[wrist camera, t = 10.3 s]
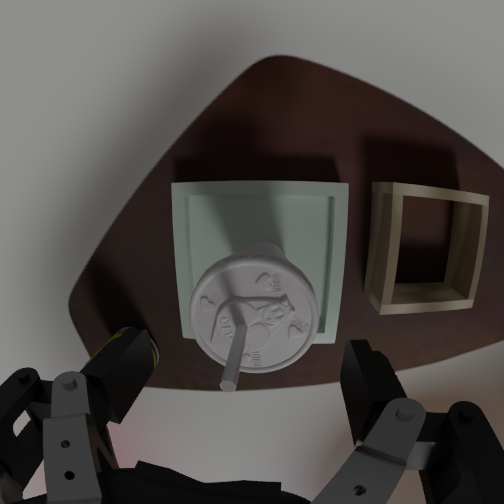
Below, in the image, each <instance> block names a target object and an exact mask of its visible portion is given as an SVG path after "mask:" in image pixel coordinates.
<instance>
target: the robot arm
mask: <svg viewBox="0 0 504 504" xmlns="http://www.w3.org/2000/svg"><path fill="white" fill-rule="evenodd" d="M153 370H154V357H153V352H152V347H151V342H150V337H149V333H148V331H147V330H146V329H139V328H132V327H130V328H128V329H127V330H126V331H125V332H124V333H123V334H122V335H121V336H120V337H117V338H115V339H113V340H111V341H109V342H108V343H107V344H106V345H105V346H104V347H103V348H102V350H100V351H99V352H98V353H97V355H95V356H94V357H93V358H92V359H91V360H90V361H89V362H88V363H87V364H86V366H85V367H84V368H83V369H82V370H81V371H80V372H74V371H70V372H65V373H62V374H60V375H59V376H57V377H56V378H55V380H54V381H46V380H41V379H40V377H39V375H38V372H37V371H36V370H35V369H33V368H22V369H19V370H17V371H16V372H14V373H13V374H12V375H11V376H10V377H9V378H8V379H7V380H6V381H5V382H4V383H3V384H2V385H1V386H0V504H386V503H387V501H388V499H389V498H390V496H391V494H392V493H393V491H394V489H395V487H396V486H397V484H398V482H399V480H400V478H401V476H402V474H403V472H404V470H405V469H407V470H418V471H419V474H420V478H421V482H422V486H423V490H424V495H425V499H426V504H504V450H503V448H502V446H501V444H500V442H499V440H498V439H497V437H496V435H495V433H494V431H493V429H492V427H491V426H490V424H489V422H488V420H487V419H486V417H485V415H484V413H483V412H482V410H481V409H480V408H479V407H478V406H477V405H476V404H474V403H472V402H468V401H460V402H457V403H454V404H453V405H452V406H451V407H450V409H449V411H448V413H431V412H426V411H425V409H424V407H423V406H422V405H421V404H420V403H419V402H417V401H415V400H413V399H409V398H407V396H406V394H405V392H404V390H403V388H402V386H401V383H400V382H399V380H398V378H397V376H396V375H395V372H394V370H393V368H392V366H391V364H390V362H389V360H388V358H387V357H386V356H384V355H383V354H382V353H381V352H379V351H372V349H371V347H370V345H369V343H368V341H367V340H366V339H361V340H348V341H347V343H346V347H345V353H344V358H343V363H342V368H341V374H340V384H341V389H342V393H343V397H344V401H345V405H346V410H347V415H348V419H349V423H350V428H351V433H352V438H353V442H354V447H357V448H356V449H355V450H354V451H353V453H352V454H351V455H350V457H349V458H348V459H347V461H346V462H345V463H344V465H343V466H342V467H341V468H340V470H339V471H338V472H337V473H336V475H335V476H334V477H333V478H332V479H331V481H330V482H329V483H328V484H327V485H326V486H325V488H324V489H323V490H322V491H321V492H320V493H319V494H318V496H317V497H316V498H315V499H314V500H313V501H312V502H310V501H309V500H307V499H305V498H303V497H300V496H298V495H295V494H292V493H289V492H285V491H281V482H263V481H247V480H241V481H230V482H215V483H203V482H200V481H197V480H195V479H192V478H190V477H188V476H185V475H183V474H181V473H179V472H176V471H174V470H172V469H170V468H165V467H161V466H157V465H153V464H150V463H146V462H143V461H138V462H137V464H136V466H135V468H121V469H120V468H119V466H118V463H117V461H116V457H115V453H114V450H113V446H112V442H111V438H110V435H109V430H108V428H107V426H106V424H107V423H108V422H109V421H112V422H114V423H118V424H120V423H121V422H122V420H123V418H124V417H125V415H126V414H127V412H128V411H129V409H130V408H131V406H132V404H133V403H134V401H135V400H136V398H137V397H138V395H139V393H140V392H141V390H142V389H143V387H144V386H145V384H146V382H147V381H148V379H149V378H150V376H151V375H152V373H153ZM24 410H26V412H27V414H28V415H29V417H30V419H31V420H30V421H29V422H28V423H27V425H26V426H25V427H24V429H23V430H22V431H21V432H20V433H19V435H18V436H17V437H16V435H15V434H14V432H13V424H14V422H15V421H16V420H17V418H18V417H19V416H20V415H21V414H22V412H23V411H24ZM43 459H44V469H45V470H44V471H45V481H46V489H47V493H46V494H43V495H39V496H36V497H32V498H29V499H25V500H24V499H23V498H22V497H23V491H24V489H25V487H26V486H27V484H28V483H29V481H30V479H31V478H32V476H33V475H34V473H35V471H36V470H37V468H38V467H39V465H40V464H41V462H42V460H43Z"/></svg>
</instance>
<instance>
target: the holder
mask: <svg viewBox="0 0 504 504" xmlns="http://www.w3.org/2000/svg"><path fill="white" fill-rule="evenodd" d="M403 195H408V196H418V197H427V198H436V199H444V200H452V201H454V206H453V220H452V230H451V239H450V247H449V254H448V261H447V267H446V273H445V278H444V282H436V283H394V282H395V276H396V269H397V261H398V253H399V244H400V234H401V222H402V206H403ZM488 207H489V196H486V195H481V194H475V193H469V192H463V191H457V190H451V189H444V188H437V187H429V186H421V185H413V184H404V183H395V182H372V204H371V223H370V237H369V249H368V259H367V269H366V277H365V285H364V294H365V295H366V296H367V298H368V299H369V301H370V302H371V303H372V305H373V306H374V308H375V309H376V310H377V312H378V313H379V315H383V314H402V313H418V312H432V311H444V310H455V309H465V308H472V305H473V301H474V297H475V293H476V289H477V284H478V280H479V275H480V270H481V264H482V258H483V252H484V246H485V238H486V230H487V220H488Z"/></svg>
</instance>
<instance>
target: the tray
mask: <svg viewBox="0 0 504 504" xmlns="http://www.w3.org/2000/svg"><path fill="white" fill-rule="evenodd" d="M348 185H349V183H332V182H308V181H207V182H183V183H172V213H173V234H174V250H175V263H176V276H177V287H178V297H179V306H180V315H181V324H182V332H183V338H193V339H195V337H194V335H193V333H192V331H191V328H190V324H189V317H188V308H189V302H190V298H191V295H192V292H193V290H194V288H195V287H196V285H197V282H198V281H199V279H200V278H201V277H202V275H203V274H204V272H205V271H206V270H207V269H208V268H209V267H211V266H212V265H213V264H215V263H216V262H217V261H219V260H220V259H223V258H225V257H228V256H230V255H233V254H235V253H239V252H240V251H242V250H243V249H244V248H246V247H247V246H248V245H250V244H252V243H254V242H258V241H267V242H271V243H273V244H275V245H276V246H278V247H279V248H280V249H281V250H282V252H283V253H284V255H285V256H286V258H287V259H288V261H289V262H291V263H292V264H293V265H295V266H296V267H297V268H299V269H300V270H301V271H302V272H303V273H304V274H305V276H306V277H307V278H308V280H309V281H310V282H311V284H312V286H313V288H314V291H315V294H316V297H317V299H318V310H319V325H318V330H317V333H316V336H315V338H314V340H313V342H312V344H313V343H335V338H336V331H337V324H338V317H339V309H340V301H341V292H342V283H343V273H344V262H345V249H346V235H347V216H348Z"/></svg>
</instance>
